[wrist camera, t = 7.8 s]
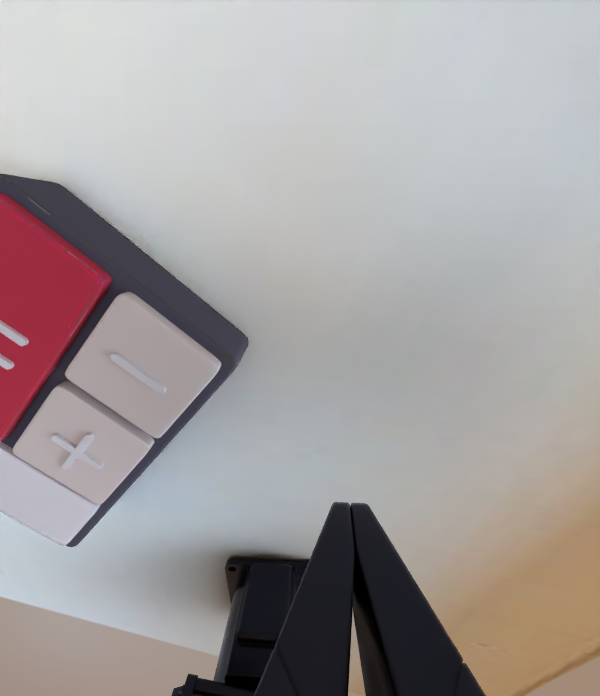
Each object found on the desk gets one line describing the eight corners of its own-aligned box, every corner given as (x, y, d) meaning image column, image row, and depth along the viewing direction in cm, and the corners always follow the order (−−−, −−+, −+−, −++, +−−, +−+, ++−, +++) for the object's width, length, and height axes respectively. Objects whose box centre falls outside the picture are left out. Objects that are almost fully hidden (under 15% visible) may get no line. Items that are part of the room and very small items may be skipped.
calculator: (237, 370, 13) (62, 564, 17) (255, 336, 17) (110, 500, 21) (-30, 161, 11) (-156, 444, 15) (64, 179, 15) (-56, 398, 19)
